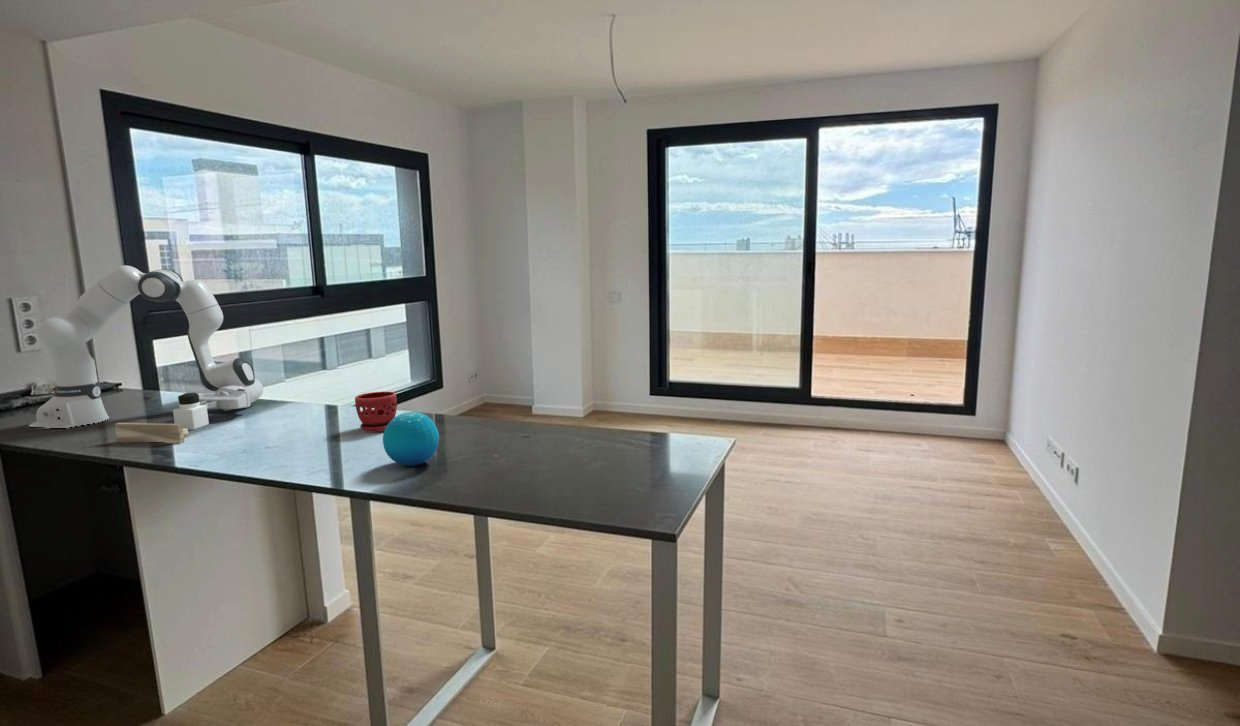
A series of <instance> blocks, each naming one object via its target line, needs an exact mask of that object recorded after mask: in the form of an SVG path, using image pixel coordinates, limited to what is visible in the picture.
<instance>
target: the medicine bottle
mask: <svg viewBox="0 0 1240 726" xmlns="http://www.w3.org/2000/svg"><path fill="white" fill-rule="evenodd" d="M199 395H200V394H199V393H197V392H184V393H181V394H179V395H178V396H177V401H178V403H177V404H178V408H174V409H172V414H173V420H174V421H173V422H174V423H173V424H182V428H184V429H188V431H195V430H197V429H200V428H203V427H207V426H208V425H210V422H209V416H208V414H209V413H208V409H207V406H206V405H199V404H200V401H199Z"/></svg>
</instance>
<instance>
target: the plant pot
mask: <svg viewBox="0 0 1240 726" xmlns="http://www.w3.org/2000/svg"><path fill="white" fill-rule="evenodd" d="M397 398H398V397H397V393H396V392H395V391H373V392H367V393H362V394H358V395H356V396H354V405H355V410H356V412H357V417H358V419H359V421H360V422H361V424H360V425H359V426H360V429H361V430H362V431H365V432H368V433H369V432H370V433H377V432H384V430H385V428H386V426H387V425H388V423H389V422H390V421H391V420H392V419H393V418H395V417H396V416H397V410H398V401H397ZM361 409H362V410H361Z"/></svg>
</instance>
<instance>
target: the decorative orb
mask: <svg viewBox="0 0 1240 726" xmlns="http://www.w3.org/2000/svg"><path fill="white" fill-rule="evenodd" d="M439 441H440V434H439V430H438V428H437V426H436V424H435V422H434V421H433V419H431V418H430V417H429V416H428V415H426V414H423V413H421V412H418V411H417V412H416V411H407V412H402V413H400V414H397V415H395V418H393V419H392V420H391V421H390V422H389V423H388V425H387V426H386V428H385V430H384V431H383V434H382V445H383V448H384V452H385V453H386V455H387V456H388V458H390V459H391V460H392V461H394V462H395V463H396V464H399V465H401V466H406V467H414V466H418V465H421V464H423V463H425V462H427V461H429V460H430V459H431V458H432V457H433V455H434V454H435V452H436V451H437V449H438V446H439Z"/></svg>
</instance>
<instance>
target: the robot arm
mask: <svg viewBox="0 0 1240 726" xmlns="http://www.w3.org/2000/svg"><path fill="white" fill-rule="evenodd" d="M138 295H141V296H142V297H143V298H145V299H146V300H148V301H150V302H155V303H157V302H158V303H159V302H175V301H176V302H177V303H179V305H180V306H181V308H182V310H183V312H184V313H185V316H186V317H187V320H188V327H189V328H188V330H187V338H188V342H189V346H190V349H191V351H192V353H193V358H194V359H195V363H196V366H197V368H198V373H199V378H200V379H199V380H200V383H201V384H202V386H203V387H204V388H205V389H207V390H209V391H211V392H215V393H214V394H199V401H200V404H199V405H206V406H207V410H208V409H221V410H223V411H228V412H229V411H231V410H236V409H246V408H249V407H251V403H253V402H256V401H257V400H259V398H261V397H262V395H263V393H264V386H263V384H262V383H261V381H260V380H258V379H257V378H256V377H255V372H254V369H253V367H252V365H251V364H250V362H248V361H247V360H245V359H244V358H240V357H237V358H233V359H230V360H226V361H224V362H220V363H215V361H214V358H213V355H212V352H211V350H210V346H209V339H210V338H211V336H212V335H213V334H214V333H216V332H217V330H219V328H221V326H222V324H223V322H224V313H223V310H222V309H221V307H220V304H219V303H218V301H217V299H216V297H215V296H214V294H213V293H212V291H211V289H210V288H209V287H208V286H207V285H206V284H205V282H204V281H202V280H198V279H190V280H186V281H184V280H183V278H182V276H181V274H179V273H178V272H176V271H174V270H173V269H172V270H171V269H167V268H162V269H161V268H160V269H155V270H152V271H148V272H145V273H144V272H142V271H140V270H139V269H138V268H136V267H134V266H131V265H121V266H119V267H117V268H115V269H113V270H111V271H110V272H108V273H107V274H105V275H104V276H103V277H102V278H100V279H99V280H97V282H95V284H93V285H92V286H91V287H90V288H89V289H87V290H86V291H85V292H84V293H82V294H81V295H80V297H79V299H78V301H77V302H76V303H75V304H74V305H73V306H72V307H71V308H70V309H69V310H68V311H67V312H66V313H63V314H60V315H54V316H52V317H49V318H48V319H46V320H44V322H42V323H41V324H40V325H39V327H38V328H37V337H38V338H39V340H40V342H42V343H43V344H44V346H45V347H46V349H47V352H48V354H49V356H50V358H51V361H52V363H53V367H54V374H55V376H56V377H55V378H56V384H57V385H56V386H55V387H51V388H49V390H50V391H49V392H50V393H52V392H54V393H53V396H52V397H51V398H50V399H48V400H47V401H46V402H45V403H44V404H43V405H41V406H40V407H39V408H38V409H37V411H36V417H35V418H36V421H34V422H32V423H29V425H28V427H29V426H30V427H45V428H44V429H50V428H66V429H70V427H72V428H76V427H75V426H77V427H82V426H81V425H84V426H88V425H87V424H90V425H94V424H93V423H95V424H99V423H102V421H103V422H106V421H108V420H109V419H110V416H109V415H108V413H107V411H106V409H105V405H104V403H103V401H102V397H101V396H102V395H101V394H102V390H101V384H100V381H99V380H98V374H97V369H96V368H97V367H96V362H95V359H94V358H93V357H92V355H91V354H90V351H89V350H88V347H87V345H86V343H87V342H89V341H90V340H92V339H93V338H94V337H95V336H96V335H97V334H98V333H99V332H100V331H101V330H102V328H104V327H105V325H106V324H107V323H108V322H109V321H110V320H111V319H112V317H114V316H115V315H116V314H117V313H118V312H120V311H121V310H122V309H123V308H124V307H126V306H127V305H128V304H129V303H130V302H131V301H132V300H133V299H135V298H136V297H137V296H138ZM107 419H108V420H107ZM105 420H106V421H105ZM98 422H99V423H98Z"/></svg>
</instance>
